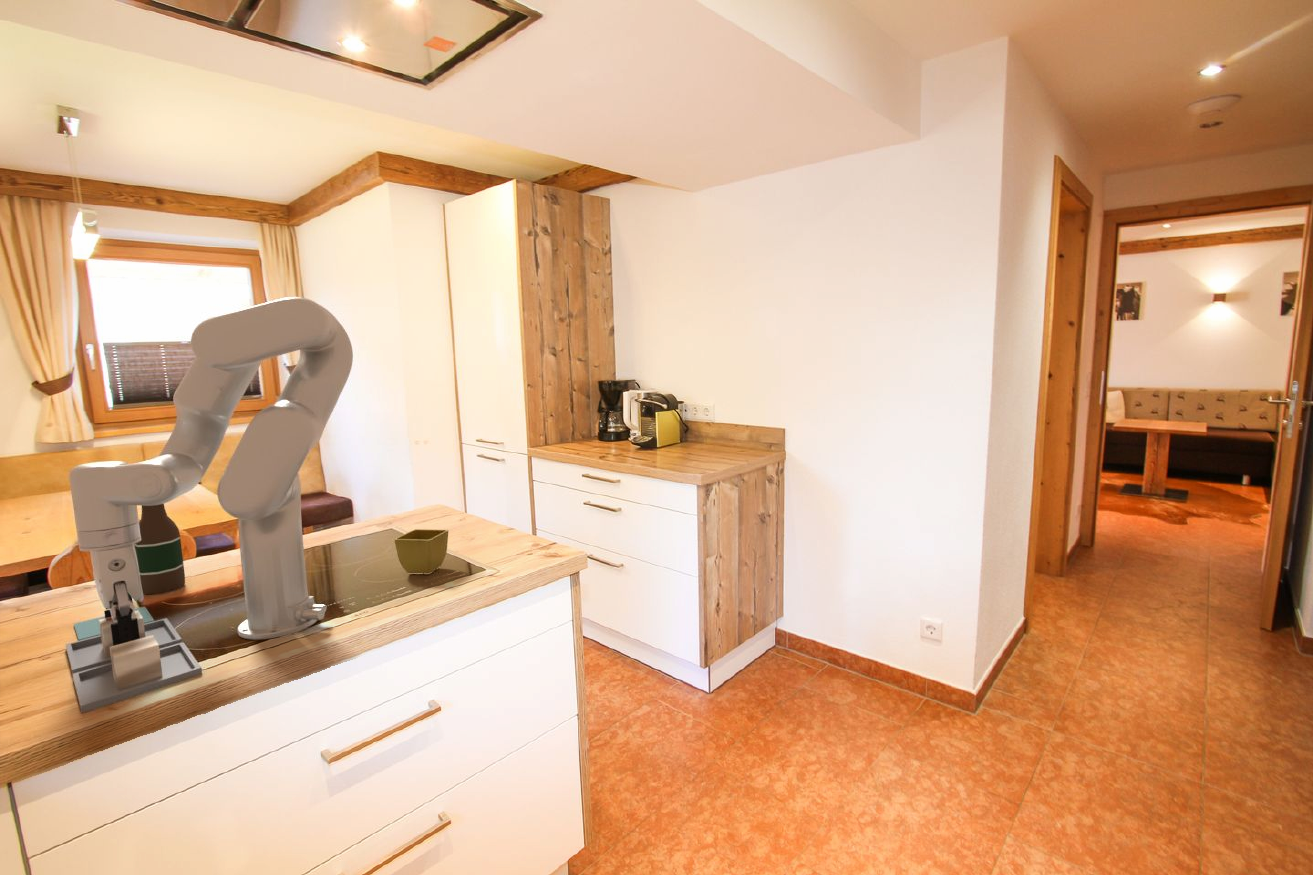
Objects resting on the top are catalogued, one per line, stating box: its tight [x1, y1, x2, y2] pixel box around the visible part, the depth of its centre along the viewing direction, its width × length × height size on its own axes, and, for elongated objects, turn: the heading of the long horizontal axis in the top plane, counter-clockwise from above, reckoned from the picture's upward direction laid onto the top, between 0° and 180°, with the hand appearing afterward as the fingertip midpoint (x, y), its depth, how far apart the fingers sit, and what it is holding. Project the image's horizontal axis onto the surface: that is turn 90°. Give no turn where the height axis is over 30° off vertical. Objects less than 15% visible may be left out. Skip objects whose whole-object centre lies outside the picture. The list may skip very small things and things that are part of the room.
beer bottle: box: [134, 503, 186, 596], centre depth 124 cm, size 8×8×24 cm
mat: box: [73, 606, 155, 641], centre depth 107 cm, size 10×10×1 cm
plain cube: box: [110, 635, 163, 690], centre depth 88 cm, size 5×5×5 cm
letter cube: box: [99, 611, 145, 657], centre depth 97 cm, size 5×5×5 cm
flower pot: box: [394, 528, 449, 574], centre depth 133 cm, size 9×9×9 cm
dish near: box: [72, 641, 203, 714], centre depth 88 cm, size 13×13×1 cm
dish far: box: [65, 617, 183, 675], centre depth 98 cm, size 13×13×1 cm
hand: (123, 636), depth 97 cm, fingers open, 7 cm apart
